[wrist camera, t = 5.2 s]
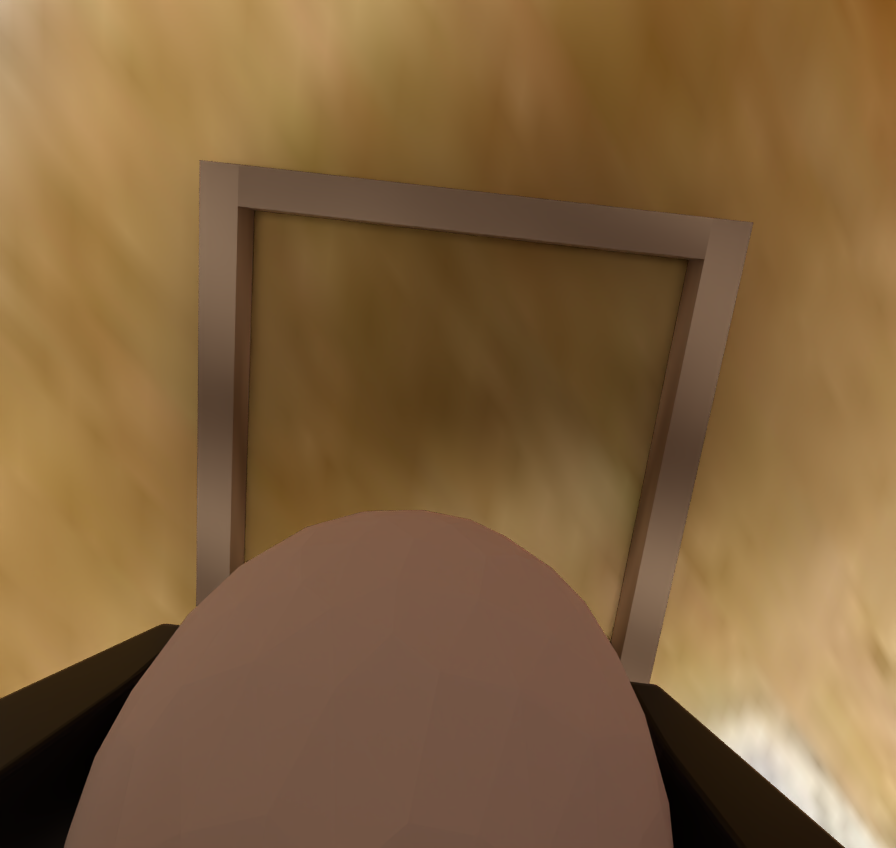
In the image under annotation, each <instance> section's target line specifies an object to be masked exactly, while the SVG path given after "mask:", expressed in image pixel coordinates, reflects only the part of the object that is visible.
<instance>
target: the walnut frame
mask: <svg viewBox="0 0 896 848" xmlns="http://www.w3.org/2000/svg"><path fill="white" fill-rule="evenodd" d="M254 210H256V211H265V212H274V213H282V214H291V215H300V216H309V217H318V218H326V219H335V220H344V221H353V222H361V223H370V224H379V225H388V226H397V227H405V228H414V229H423V230H432V231H441V232H449V233H458V234H467V235H476V236H484V237H493V238H502V239H511V240H520V241H528V242H537V243H546V244H555V245H564V246H572V247H581V248H590V249H599V250H607V251H616V252H625V253H634V254H643V255H651V256H660V257H669V258H678V259H687V260H689V261H688V266H687V271H686V276H685V281H684V286H683V291H682V295H681V300H680V305H679V310H678V315H677V320H676V325H675V330H674V335H673V340H672V345H671V350H670V354H669V359H668V364H667V369H666V374H665V379H664V384H663V389H662V394H661V399H660V404H659V409H658V413H657V418H656V423H655V428H654V433H653V438H652V443H651V448H650V453H649V458H648V463H647V468H646V472H645V477H644V482H643V487H642V492H641V497H640V502H639V507H638V512H637V517H636V522H635V526H634V531H633V536H632V541H631V546H630V551H629V556H628V561H627V566H626V571H625V576H624V581H623V585H622V590H621V595H620V600H619V605H618V610H617V615H616V620H615V625H614V630H613V635H612V640H611V645H612V646H613V648H614V650H615V651H616V653H617V655H618V657H619V659H620V661H621V663H622V666H623V668H624V670H625V672H626V675H627V677H628V679H629V681H631V682H639V683H647V684H649V682H650V678H651V673H652V669H653V665H654V660H655V656H656V651H657V647H658V642H659V638H660V634H661V629H662V625H663V620H664V616H665V611H666V607H667V603H668V598H669V594H670V589H671V585H672V580H673V576H674V572H675V567H676V563H677V558H678V554H679V549H680V545H681V541H682V536H683V532H684V527H685V523H686V518H687V514H688V510H689V505H690V501H691V496H692V492H693V488H694V483H695V479H696V474H697V470H698V465H699V461H700V457H701V452H702V448H703V443H704V439H705V434H706V430H707V426H708V421H709V417H710V412H711V408H712V403H713V399H714V395H715V390H716V386H717V381H718V377H719V372H720V368H721V364H722V359H723V355H724V350H725V346H726V341H727V337H728V333H729V328H730V324H731V319H732V315H733V310H734V306H735V302H736V297H737V293H738V288H739V284H740V279H741V275H742V271H743V266H744V262H745V257H746V253H747V248H748V244H749V240H750V235H751V231H752V226H753V222H744V221H735V220H727V219H718V218H709V217H700V216H691V215H682V214H673V213H664V212H656V211H647V210H638V209H629V208H620V207H611V206H602V205H593V204H585V203H576V202H567V201H558V200H549V199H540V198H531V197H522V196H514V195H505V194H496V193H487V192H478V191H469V190H460V189H451V188H443V187H434V186H425V185H416V184H407V183H398V182H389V181H380V180H372V179H363V178H354V177H345V176H336V175H327V174H318V173H309V172H301V171H292V170H283V169H274V168H265V167H256V166H247V165H238V164H230V163H221V162H212V161H203V160H200V188H199V322H198V456H197V590H196V607H197V606H198V605H199V604H200V603H201V602H202V601H203V600H204V599H205V598H206V597H207V596H208V595H209V594H210V593H211V592H213V591H214V590H215V589H216V588H217V587H218V586H219V585H220V584H221V583H222V582H223V581H224V580H225V579H226V578H227V577H228V576H230V575H231V574H232V573H233V572H234V571H235V570H236V569H237V568H238V567H239V566H241V565H243V564H244V545H245V511H246V476H247V442H248V407H249V373H250V338H251V304H252V269H253V235H254Z"/></svg>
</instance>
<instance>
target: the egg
mask: <svg viewBox="0 0 896 848" xmlns="http://www.w3.org/2000/svg"><path fill="white" fill-rule="evenodd" d="M64 848H673V838H672V828H671V818H670V808H669V802H668V798H667V794H666V791H665V787H664V783H663V780H662V776H661V772H660V769H659V765H658V761H657V758H656V754H655V750H654V747H653V743H652V740H651V736H650V732H649V729H648V725H647V721H646V718H645V714H644V712H643V710H642V708H641V705H640V703H639V701H638V699H637V697H636V694H635V692H634V690H633V688H632V686H631V683H630V681H629V679H628V677H627V675H626V672H625V670H624V668H623V666H622V663H621V661H620V659H619V657H618V655H617V653H616V651H615V650H614V648H613V646H612V645H611V643H610V642H609V640H608V638H607V637H606V635H605V634H604V632H603V630H602V629H601V627H600V626H599V624H598V622H597V621H596V619H595V617H594V616H593V614H592V613H591V611H590V609H589V608H588V606H587V605H586V603H585V602H584V601H583V600H582V599H581V597H580V596H579V595H578V594H577V593H576V592H575V591H574V590H573V589H572V588H571V587H570V586H569V585H568V584H567V583H566V582H565V581H564V580H563V579H562V578H561V577H560V576H559V575H558V574H557V573H556V572H555V571H554V570H553V569H552V568H551V567H549V566H548V565H547V564H545V563H544V562H542V561H541V560H539V559H538V558H536V557H535V556H533V555H532V554H530V553H529V552H528V551H526V550H525V549H523V548H522V547H520V546H519V545H517V544H516V543H514V542H513V541H511V540H510V539H508V538H507V537H506V536H504V535H502V534H500V533H497V532H495V531H493V530H491V529H489V528H487V527H485V526H483V525H480V524H478V523H476V522H474V521H472V520H469V519H464V518H459V517H454V516H449V515H445V514H440V513H435V512H430V511H425V510H399V511H368V512H360V513H356V514H353V515H349V516H345V517H342V518H338V519H334V520H331V521H327V522H323V523H320V524H316V525H312V526H309V527H306V528H304V529H302V530H301V531H299V532H297V533H296V534H294V535H292V536H290V537H289V538H287V539H285V540H283V541H282V542H280V543H278V544H276V545H275V546H273V547H271V548H270V549H268V550H266V551H264V552H263V553H261V554H259V555H258V556H256V557H254V558H253V559H251V560H249V561H248V562H246V563H244V564H243V565H241V566H239V567H238V568H237V569H236V570H235V571H234V572H233V573H232V574H231V575H230V576H228V577H227V578H226V579H225V580H224V581H223V582H222V583H221V584H220V585H219V586H218V587H217V588H216V589H215V590H214V591H213V592H211V593H210V594H209V595H208V596H207V597H206V598H205V599H204V600H203V601H202V602H201V603H200V604H199V605H198V606H197V607H196V608H195V609H193V610H192V611H191V612H190V613H189V614H188V616H187V617H186V618H185V620H184V621H183V622H182V624H181V625H180V626H179V628H178V629H177V630H176V632H175V633H174V634H173V636H172V637H171V638H170V640H169V641H168V642H167V644H166V645H165V647H164V648H163V649H162V651H161V652H160V653H159V655H158V656H157V657H156V659H155V660H154V661H153V663H152V664H151V665H150V667H149V668H148V669H147V671H146V672H145V673H144V675H143V676H142V678H141V679H140V680H139V682H138V683H137V684H136V686H135V687H134V688H133V690H132V691H131V693H130V695H129V696H128V698H127V700H126V702H125V704H124V705H123V707H122V709H121V711H120V713H119V714H118V716H117V718H116V720H115V722H114V723H113V725H112V727H111V729H110V731H109V732H108V734H107V736H106V738H105V740H104V741H103V743H102V745H101V747H100V749H99V750H98V752H97V754H96V756H95V758H94V760H93V763H92V766H91V769H90V772H89V775H88V777H87V780H86V783H85V786H84V789H83V792H82V795H81V797H80V800H79V803H78V806H77V809H76V812H75V814H74V817H73V820H72V823H71V826H70V829H69V832H68V835H67V838H66V841H65V845H64Z"/></svg>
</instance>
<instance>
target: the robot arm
mask: <svg viewBox="0 0 896 848" xmlns="http://www.w3.org/2000/svg"><path fill="white" fill-rule="evenodd" d="M179 626H180V625H173V624H161V625H159V626H156V627H154V628H152V629H150V630H148V631H146V632H143V633H141V634H139V635H137V636H135V637H133V638H130V639H128V640H126V641H124V642H122V643H120V644H117V645H115V646H113V647H111V648H109V649H107V650H104V651H102V652H100V653H98V654H96V655H94V656H91V657H89V658H87V659H85V660H83V661H81V662H78V663H76V664H74V665H72V666H70V667H68V668H65V669H63V670H61V671H59V672H57V673H55V674H52V675H50V676H48V677H46V678H44V679H42V680H39V681H37V682H35V683H33V684H31V685H29V686H26V687H24V688H22V689H20V690H18V691H16V692H13V693H11V694H9V695H7V696H5V697H3V698H0V848H64V845H65V841H66V838H67V835H68V832H69V829H70V826H71V823H72V820H73V817H74V814H75V812H76V809H77V806H78V803H79V800H80V797H81V795H82V792H83V789H84V786H85V783H86V780H87V777H88V775H89V772H90V769H91V766H92V763H93V760H94V758H95V756H96V754H97V752H98V750H99V749H100V747H101V745H102V743H103V741H104V740H105V738H106V736H107V734H108V732H109V731H110V729H111V727H112V725H113V723H114V722H115V720H116V718H117V716H118V714H119V713H120V711H121V709H122V707H123V705H124V704H125V702H126V700H127V698H128V696H129V695H130V693H131V691H132V690H133V688H134V687H135V686H136V684H137V683H138V682H139V680H140V679H141V678H142V676H143V675H144V673H145V672H146V671H147V669H148V668H149V667H150V665H151V664H152V663H153V661H154V660H155V659H156V657H157V656H158V655H159V653H160V652H161V651H162V649H163V648H164V647H165V645H166V644H167V642H168V641H169V640H170V638H171V637H172V636H173V634H174V633H175V632H176V630H177V629H178V628H179ZM630 683H631V686H632V688H633V690H634V692H635V694H636V697H637V699H638V701H639V703H640V705H641V708H642V710H643V712H644V714H645V718H646V721H647V725H648V729H649V732H650V736H651V740H652V743H653V747H654V750H655V754H656V758H657V761H658V765H659V769H660V772H661V776H662V780H663V783H664V787H665V791H666V794H667V798H668V802H669V808H670V818H671V828H672V838H673V848H845V847H844V846H842V845H841V844H840V843H839V842H838V841H837V840H836V839H834V838H833V837H832V836H831V835H830V834H829V833H827V832H826V831H825V830H824V829H823V828H822V827H821V826H819V825H818V824H817V823H816V822H815V821H814V820H812V819H811V818H810V817H809V816H808V815H807V814H806V813H804V812H803V811H802V810H801V809H800V808H799V807H798V806H796V805H795V804H794V803H793V802H792V801H791V800H789V799H788V798H787V797H786V796H785V795H784V794H783V793H781V792H780V791H779V790H778V789H777V788H776V787H774V786H773V785H772V784H771V783H770V782H769V781H768V780H766V779H765V778H764V777H763V776H762V775H761V774H759V773H758V772H757V771H756V770H755V769H754V768H753V767H751V766H750V765H749V764H748V763H747V762H746V761H745V760H743V759H742V758H741V757H740V756H739V755H738V754H736V753H735V752H734V751H733V750H732V749H731V748H730V747H728V746H727V745H726V744H725V743H724V742H723V741H721V740H720V739H719V738H718V737H717V736H716V735H715V734H713V733H712V732H711V731H710V730H709V729H708V728H707V727H705V726H704V725H703V724H702V723H701V722H700V721H698V720H697V719H696V718H695V717H694V716H693V715H692V714H690V713H689V712H688V711H687V710H686V709H685V708H683V707H682V706H681V705H680V704H679V703H678V702H677V701H675V700H674V699H673V698H672V697H671V696H670V695H668V694H667V693H666V692H665V691H664V690H663V689H662V688H660V687H659V686H657V685H654V684H647V683H639V682H631V681H630Z"/></svg>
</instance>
